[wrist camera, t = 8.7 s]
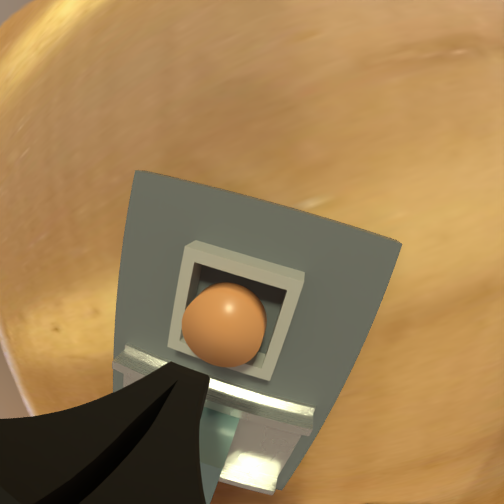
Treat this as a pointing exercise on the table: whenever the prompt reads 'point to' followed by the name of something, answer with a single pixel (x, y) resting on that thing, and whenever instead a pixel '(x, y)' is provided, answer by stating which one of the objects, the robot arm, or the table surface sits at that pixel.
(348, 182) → the table surface
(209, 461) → the block
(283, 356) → the holder board
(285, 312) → the button housing
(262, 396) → the metal rail
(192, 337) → the button
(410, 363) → the table surface
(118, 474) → the robot arm
